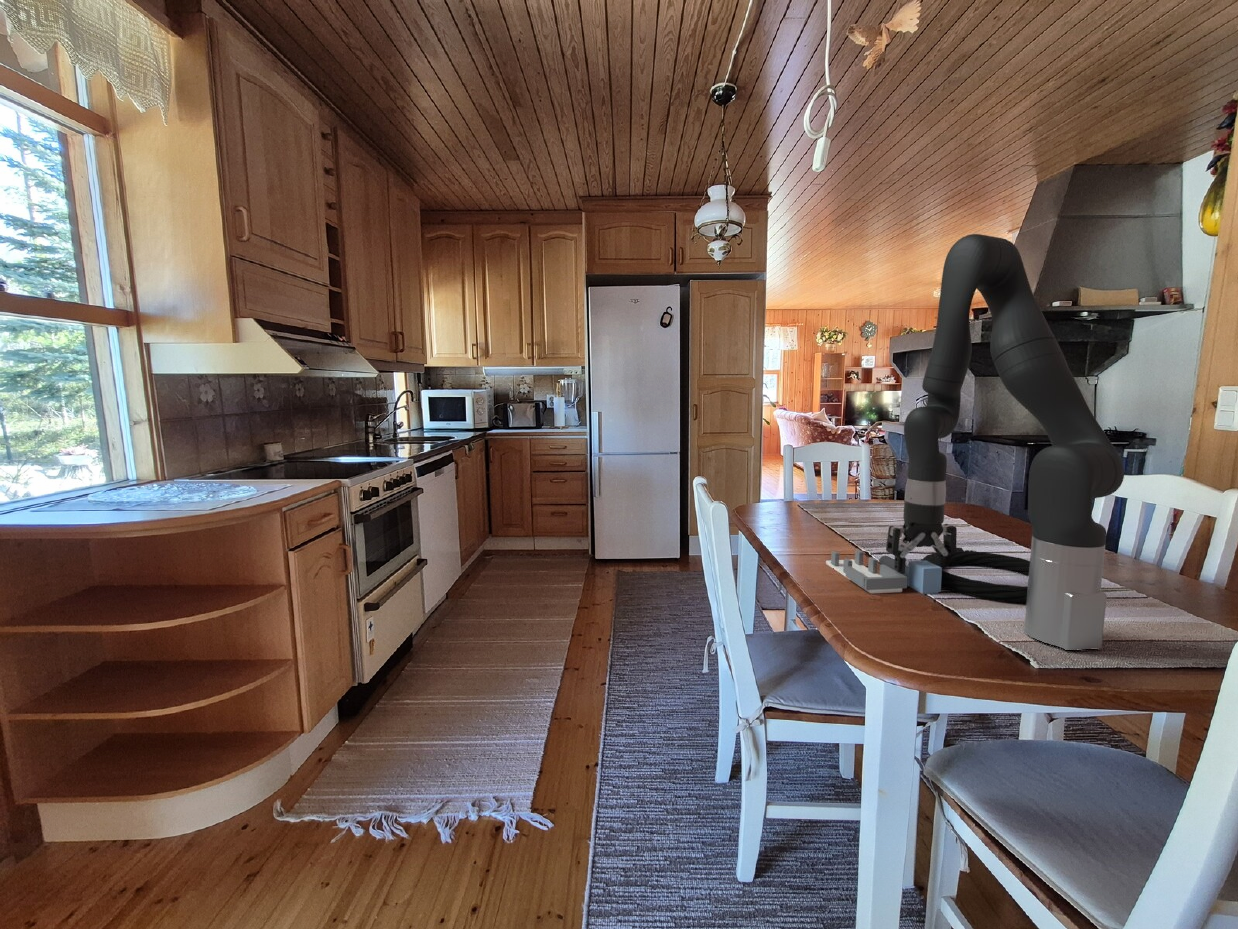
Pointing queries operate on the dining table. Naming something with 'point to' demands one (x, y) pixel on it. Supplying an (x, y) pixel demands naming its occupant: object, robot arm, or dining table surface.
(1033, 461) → the robot arm
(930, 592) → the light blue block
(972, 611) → the dining table surface
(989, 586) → the cable lock
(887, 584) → the rail
